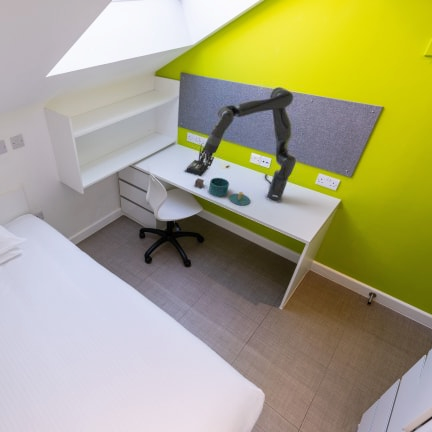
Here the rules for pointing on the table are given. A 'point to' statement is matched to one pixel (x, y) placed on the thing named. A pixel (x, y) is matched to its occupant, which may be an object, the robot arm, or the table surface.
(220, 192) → the tin
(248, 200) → the lid
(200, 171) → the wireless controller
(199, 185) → the block
